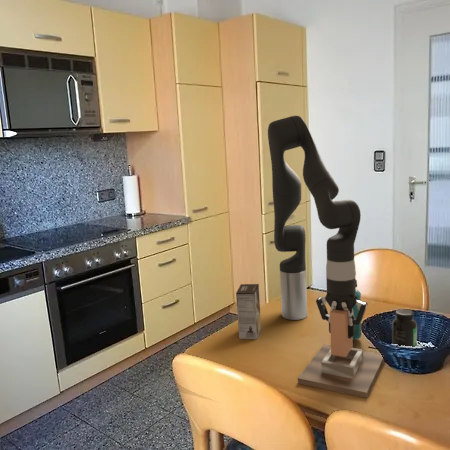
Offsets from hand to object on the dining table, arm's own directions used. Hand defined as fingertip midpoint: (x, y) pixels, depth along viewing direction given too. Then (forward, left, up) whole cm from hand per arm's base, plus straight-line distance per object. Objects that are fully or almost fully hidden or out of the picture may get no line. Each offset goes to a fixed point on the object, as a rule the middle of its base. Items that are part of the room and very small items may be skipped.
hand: (341, 335), depth 129 cm
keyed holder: (0, 0, -10) cm, 10 cm away
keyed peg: (0, 0, -4) cm, 4 cm away
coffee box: (-13, -35, -11) cm, 39 cm away
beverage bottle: (-20, -3, -11) cm, 23 cm away
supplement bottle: (-19, +13, -11) cm, 25 cm away
